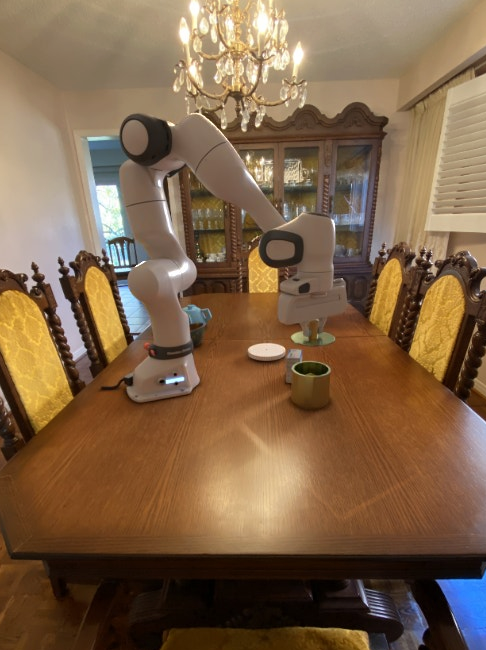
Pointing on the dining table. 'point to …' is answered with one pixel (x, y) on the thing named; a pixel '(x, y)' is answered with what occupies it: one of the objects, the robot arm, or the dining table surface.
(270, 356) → the plastic lid
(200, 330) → the dark green pot
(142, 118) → the robot arm
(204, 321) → the teapot
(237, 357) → the dining table surface
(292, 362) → the medicine box
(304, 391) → the tin
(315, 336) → the lid
